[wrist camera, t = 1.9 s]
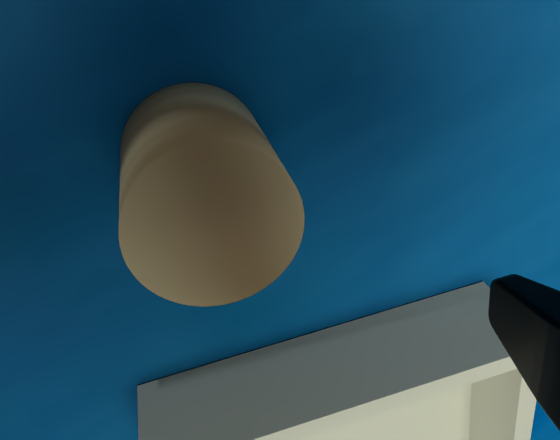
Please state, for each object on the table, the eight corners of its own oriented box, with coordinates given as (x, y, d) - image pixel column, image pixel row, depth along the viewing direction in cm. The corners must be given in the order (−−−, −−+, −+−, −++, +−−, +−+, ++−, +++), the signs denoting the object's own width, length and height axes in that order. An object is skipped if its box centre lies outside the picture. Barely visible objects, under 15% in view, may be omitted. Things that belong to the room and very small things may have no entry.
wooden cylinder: (144, 227, 18) (150, 326, 14) (100, 101, 15) (90, 174, 11) (271, 194, 18) (314, 279, 14) (247, 67, 16) (290, 124, 12)
